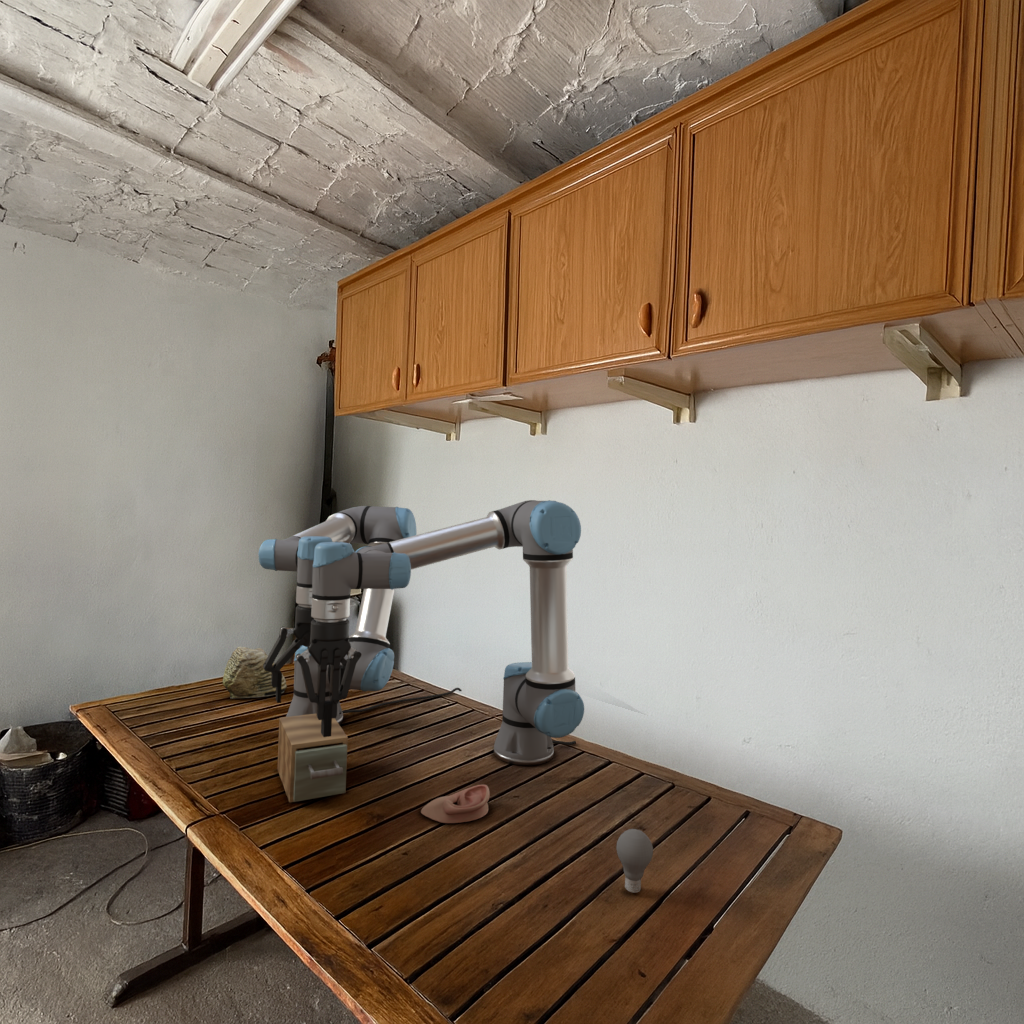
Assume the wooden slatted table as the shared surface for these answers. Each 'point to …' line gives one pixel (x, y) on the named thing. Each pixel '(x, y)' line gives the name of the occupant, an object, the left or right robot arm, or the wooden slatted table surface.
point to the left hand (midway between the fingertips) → (309, 698)
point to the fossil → (249, 674)
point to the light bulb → (634, 857)
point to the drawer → (320, 771)
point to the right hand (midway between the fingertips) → (326, 734)
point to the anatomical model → (459, 806)
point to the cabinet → (301, 743)
